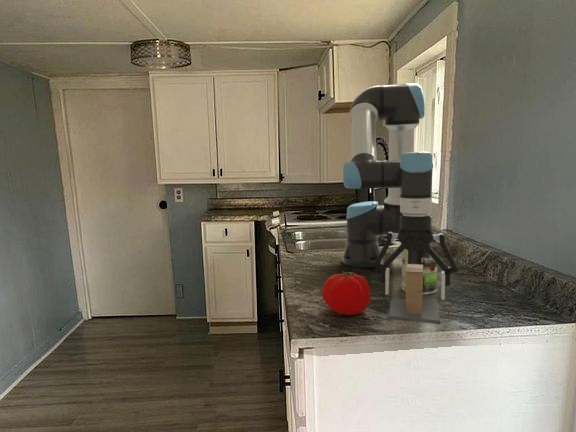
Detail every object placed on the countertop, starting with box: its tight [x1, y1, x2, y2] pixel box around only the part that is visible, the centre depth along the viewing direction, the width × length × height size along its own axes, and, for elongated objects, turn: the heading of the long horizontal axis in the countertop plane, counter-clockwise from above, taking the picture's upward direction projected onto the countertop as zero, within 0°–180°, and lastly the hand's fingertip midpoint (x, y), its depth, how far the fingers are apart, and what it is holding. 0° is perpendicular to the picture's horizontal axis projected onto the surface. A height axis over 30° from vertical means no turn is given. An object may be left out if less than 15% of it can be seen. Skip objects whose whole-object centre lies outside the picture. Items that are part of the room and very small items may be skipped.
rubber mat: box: [387, 298, 441, 324], centre depth 98 cm, size 12×12×1 cm
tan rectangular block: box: [405, 264, 423, 315], centre depth 98 cm, size 7×4×11 cm, turn 160°
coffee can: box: [401, 241, 439, 296], centre depth 114 cm, size 10×10×14 cm
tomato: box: [321, 270, 372, 316], centre depth 99 cm, size 13×12×11 cm
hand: (414, 295), depth 98 cm, fingers open, 13 cm apart
